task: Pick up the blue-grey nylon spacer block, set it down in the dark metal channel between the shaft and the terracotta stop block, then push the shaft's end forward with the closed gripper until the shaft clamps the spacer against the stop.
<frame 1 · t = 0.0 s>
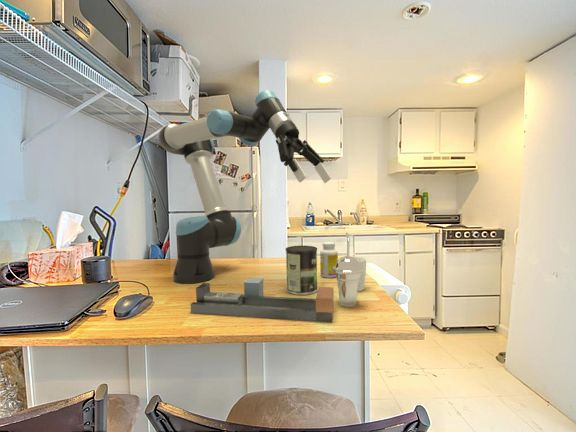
hand: (316, 180, 92), 36 cm above the countertop, tool tilted 35°, fingers open, 13 cm apart
coffee can: (301, 290, 99), on the countertop
white cup: (353, 289, 99), on the countertop
cup with straw: (348, 304, 86), on the countertop
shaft: (219, 296, 84), point 3 cm above the countertop, slide at 0.0 cm
spacer: (254, 299, 90), on the countertop
channel: (262, 310, 81), on the countertop
supplement bottle: (329, 276, 115), on the countertop
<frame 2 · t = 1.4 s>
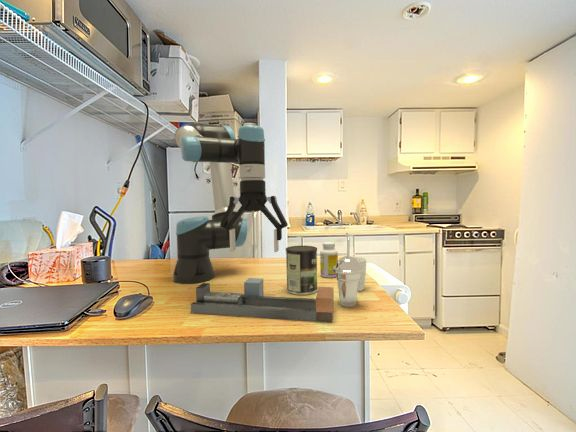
hand: (254, 251, 89), 15 cm above the countertop, tool pointing down, fingers open, 13 cm apart
nothing on the countertop moved.
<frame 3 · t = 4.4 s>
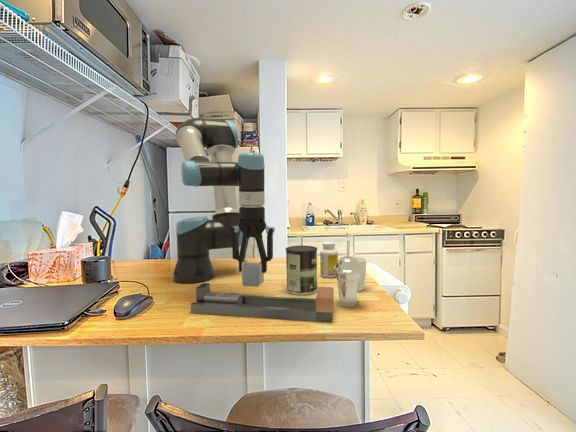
hand: (253, 282, 91), 5 cm above the countertop, tool pointing down, fingers closed on spacer, 5 cm apart
spacer: (252, 284, 90), point 5 cm above the countertop, touching gripper
everything else where it was.
when the fingers open (0 cm above the countertop, at t = 8.3 s): spacer stays where it is, resting in channel.
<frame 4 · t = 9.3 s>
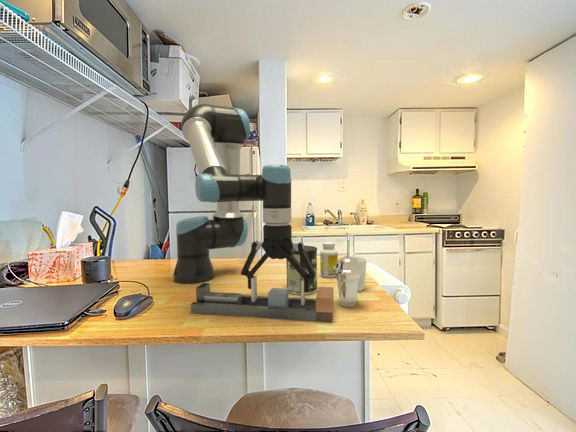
hand: (278, 301, 81), 3 cm above the countertop, tool pointing down, fingers open, 13 cm apart
spacer: (278, 312, 80), resting in channel
everything else where it was.
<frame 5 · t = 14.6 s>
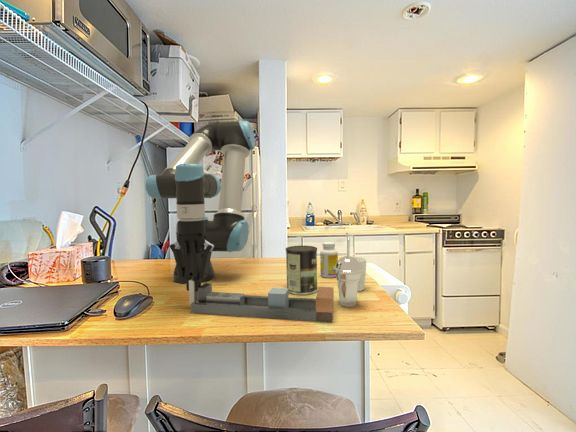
hand: (194, 301, 85), 2 cm above the countertop, tool pointing down, fingers closed
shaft: (221, 296, 83), point 3 cm above the countertop, slide at 0.6 cm, touching gripper
everything else where it was.
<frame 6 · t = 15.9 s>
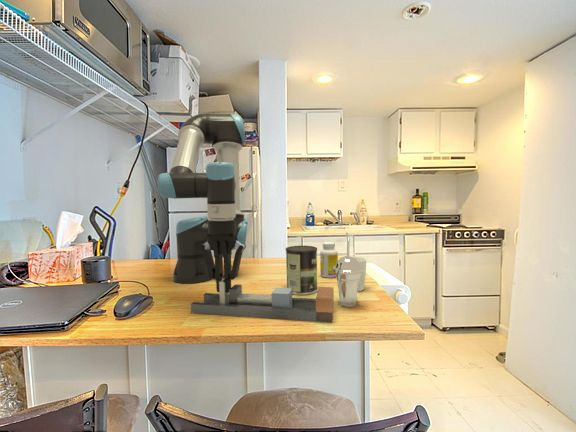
hand: (224, 303, 83), 2 cm above the countertop, tool pointing down, fingers closed
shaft: (253, 298, 82), point 3 cm above the countertop, slide at 9.7 cm, touching gripper
spacer: (282, 312, 80), resting in channel
everything else where it was.
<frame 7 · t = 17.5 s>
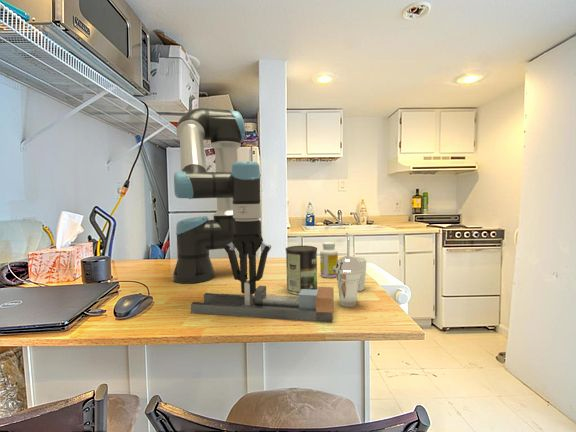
hand: (248, 304, 82), 2 cm above the countertop, tool pointing down, fingers closed
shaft: (278, 299, 80), point 3 cm above the countertop, slide at 16.9 cm, touching gripper, spacer
spacer: (308, 314, 79), resting in channel, touching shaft
everything else where it was.
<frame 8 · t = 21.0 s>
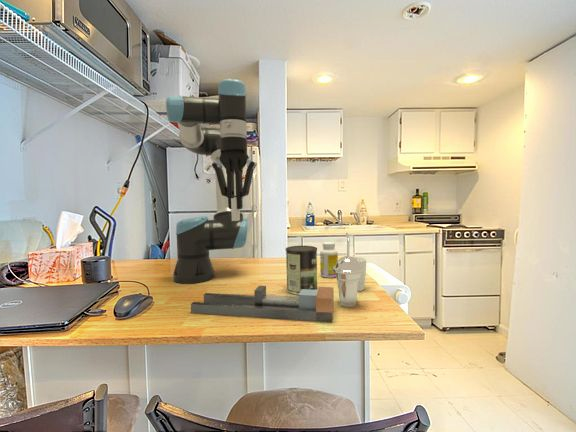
hand: (235, 220, 86), 24 cm above the countertop, tool pointing down, fingers closed
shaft: (278, 299, 80), point 3 cm above the countertop, slide at 16.9 cm
spacer: (308, 314, 79), resting in channel
everything else where it was.
at the end: spacer 0.4 cm from the target spot, resting in channel; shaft slide at 16.9 cm; spacer tilted 0° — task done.
